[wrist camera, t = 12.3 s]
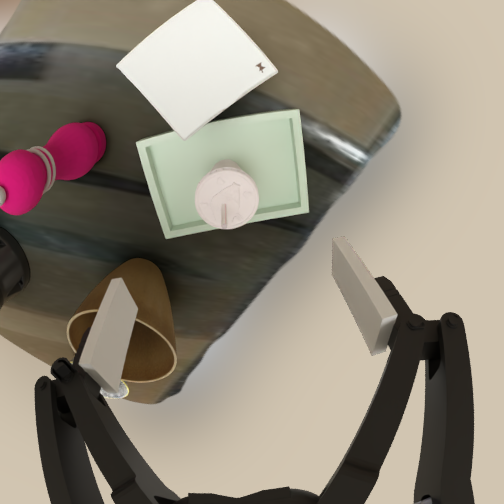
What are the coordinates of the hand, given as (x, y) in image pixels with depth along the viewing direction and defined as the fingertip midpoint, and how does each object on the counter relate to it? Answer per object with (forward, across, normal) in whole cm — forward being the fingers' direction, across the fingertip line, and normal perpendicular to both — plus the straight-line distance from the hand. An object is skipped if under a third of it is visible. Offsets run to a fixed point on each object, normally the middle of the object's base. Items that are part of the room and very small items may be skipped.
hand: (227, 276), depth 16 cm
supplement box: (+23, 0, +13) cm, 26 cm away
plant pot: (+23, -17, -14) cm, 32 cm away
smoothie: (+22, 0, 0) cm, 22 cm away
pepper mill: (+23, -18, +9) cm, 30 cm away
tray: (+22, 0, 0) cm, 22 cm away
